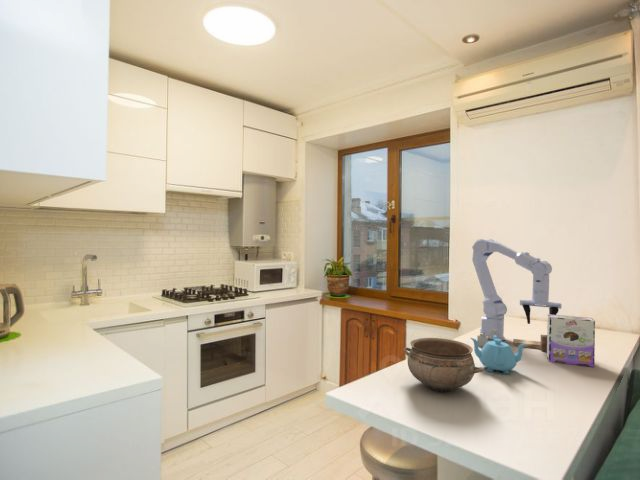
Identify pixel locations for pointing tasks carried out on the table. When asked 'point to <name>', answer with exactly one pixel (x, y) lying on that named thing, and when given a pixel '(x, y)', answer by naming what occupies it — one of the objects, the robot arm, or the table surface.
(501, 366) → the teapot
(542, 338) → the brown wooden block
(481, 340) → the lighter
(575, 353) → the candy box
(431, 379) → the cooking pot
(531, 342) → the board
